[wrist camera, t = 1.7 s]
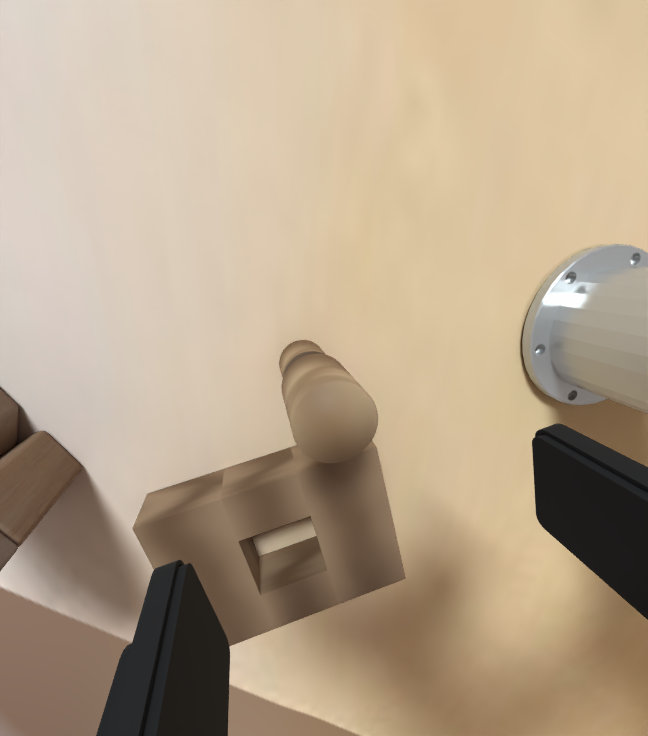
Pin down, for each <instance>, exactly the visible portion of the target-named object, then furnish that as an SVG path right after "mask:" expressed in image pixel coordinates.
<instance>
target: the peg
mask: <svg viewBox="0 0 648 736" xmlns="http://www.w3.org/2000/svg"><path fill="white" fill-rule="evenodd" d="M279 365H280V370H281V373H282V377H283V380H282V395H283V399H284V402H285V406H286V410H287V414H288V417H289V421H290V425H291V429H292V433H293V436H294V439H295V442H296V444H297V446H298V447H299V449H300V450H301V451H302V452H303V453H304V454H305V455H307V456H308V457H309V458H311V459H313V460H316V461H318V462H323V463H339V462H343V461H346V460H349V459H351V458H353V457H355V456H357V455H358V454H360V453H361V452H362V451H363V450H364V449H365V448H366V447H367V446H368V445H369V443H370V442H371V441H372V439H373V437H374V435H375V432H376V429H377V425H378V413H377V408H376V405H375V403H374V401H373V399H372V398H371V397H370V395H369V394H368V393H367V392H366V391H365V390H364V389H363V388H362V387H361V386H360V384H359V383H358V382H357V381H356V380H355V379H354V378H353V377H352V376H351V375H350V373H349V372H348V371H347V370H346V369H345V368H344V367H343V366H342V365H341V364H340V363H339V362H338V361H337V360H336V359H334V358H333V357H331V356H328V355H326V354H325V353H324V352H323V351H322V349H321V348H320V347H319V346H318V345H317V344H315V343H313V342H311V341H307V340H299V341H295V342H293V343H291V344H289V345H288V346H287V347H286V348H285V349H284V350H283V352H282V354H281V357H280V362H279Z"/></svg>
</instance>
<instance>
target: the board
mask: <svg viewBox="0 0 648 736" xmlns="http://www.w3.org/2000/svg"><path fill="white" fill-rule="evenodd" d="M309 516H311V519H312V523H313V526H314V529H315V532H316V535H317V536H316V537H313V538H310V539H307V540H305V541H302V542H299V543H296V544H293V545H291V546H288V547H285V548H282V549H279V550H277V551H274V552H271V553H268V554H265V555H263V556H260V557H259V556H258V553H257V551H256V548H255V546H254V543H253V541H252V538H251V537H252V536H255V535H258V534H261V533H263V532H266V531H269V530H272V529H275V528H278V527H281V526H283V525H286V524H289V523H292V522H295V521H298V520H301V519H303V518H306V517H309ZM133 531H134V533H135V534H136V536H137V538H138V540H139V542H140V544H141V546H142V548H143V550H144V551H145V553H146V555H147V557H148V559H149V561H150V563H151V565H152V567H153V569H155V568H157V567H160V566H163V565H166V564H168V563H171V562H174V561H177V560H182V561H183V563H184V564H188V563H191V564H192V566H193V567H194V570H195V572H196V574H197V576H198V578H199V580H200V582H201V584H202V586H203V588H204V590H205V592H206V595H207V597H208V599H209V601H210V603H211V605H212V607H213V609H214V611H215V613H216V615H217V617H218V620H219V622H220V624H221V626H222V628H223V630H224V632H225V634H226V636H227V639H228V643H229V646H231V645H234V644H236V643H239V642H242V641H244V640H247V639H249V638H252V637H255V636H257V635H260V634H262V633H265V632H268V631H270V630H273V629H275V628H278V627H281V626H283V625H286V624H288V623H291V622H294V621H296V620H299V619H301V618H304V617H307V616H309V615H312V614H314V613H317V612H320V611H322V610H325V609H327V608H330V607H333V606H335V605H338V604H340V603H343V602H346V601H348V600H351V599H353V598H356V597H359V596H361V595H364V594H366V593H369V592H372V591H374V590H377V589H379V588H382V587H385V586H387V585H390V584H392V583H395V582H398V581H400V580H403V579H405V573H404V569H403V564H402V560H401V555H400V551H399V546H398V542H397V537H396V533H395V528H394V524H393V519H392V515H391V510H390V506H389V501H388V497H387V492H386V488H385V483H384V479H383V475H382V470H381V466H380V461H379V457H378V452H377V448H376V446H375V444H374V443H373V441H371V442H370V443H369V445H368V446H367V447H366V448H365V449H364V450H363V451H362V452H361V453H360V454H358V455H357V456H355V457H353V458H351V459H349V460H346V461H343V462H339V463H323V462H318V461H316V460H313V459H311V458H309V457H308V456H307V455H305V454H304V453H303V452H302V451H301V450H300V449H299V447H298V446H297V445H296V446H293V447H290V448H287V449H284V450H281V451H278V452H275V453H272V454H269V455H266V456H263V457H259V458H256V459H253V460H250V461H247V462H244V463H241V464H238V465H235V466H232V467H229V468H226V469H223V470H219V471H216V472H213V473H210V474H207V475H204V476H201V477H198V478H195V479H192V480H189V481H186V482H182V483H179V484H176V485H173V486H170V487H167V488H164V489H161V490H158V491H155V492H152V493H149V494H147V496H146V498H145V501H144V503H143V505H142V508H141V510H140V512H139V515H138V517H137V519H136V522H135V524H134V526H133Z"/></svg>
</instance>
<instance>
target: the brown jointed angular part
mask: <svg viewBox="0 0 648 736" xmlns="http://www.w3.org/2000/svg"><path fill="white" fill-rule="evenodd" d="M18 410H19V409H18V406H17V404H16V403H15V402H14V401H13V400H12V399H10V398H9V397H8V396H7V395H6V394H5V393H4V392H3V391H2V390H1V389H0V571H1V570H2V568H3V567H4V566H5V565H6V563H7V562H8V561H9V560H10V558H11V557H12V556H13V555H14V553H15V552H16V551H17V549H18V547H19V546H20V545H21V544H22V543H23V542H24V540H25V539H26V538H27V537H28V535H29V534H30V533H31V532H32V530H33V529H34V528H35V527H36V525H37V524H38V523H39V522H40V520H41V519H42V518H43V517H44V515H45V514H46V513H47V512H48V510H49V509H50V508H51V507H52V505H53V504H54V503H55V502H56V500H57V499H58V498H59V497H60V495H61V494H62V493H63V492H64V490H65V489H66V488H67V487H68V485H69V484H70V483H71V482H72V480H73V479H74V478H75V477H76V475H77V474H78V473H79V472H80V470H81V465H80V464H79V463H78V462H77V461H76V460H75V459H74V458H73V457H72V456H71V455H70V454H69V453H68V452H67V451H66V450H65V449H64V448H63V447H62V446H61V445H60V444H58V443H57V442H56V441H55V440H54V439H53V438H52V437H51V436H50V435H49V434H48V433H47V432H45V431H40V432H36V433H34V434H33V435H31V436H30V437H28V438H27V439H25V440H23V441H22V442H20V443H19V444H17V445H16V443H17V431H18ZM15 445H16V446H15Z"/></svg>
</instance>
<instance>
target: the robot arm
mask: <svg viewBox="0 0 648 736" xmlns="http://www.w3.org/2000/svg"><path fill="white" fill-rule="evenodd" d="M522 347H523V358H524V363H525V367H526V370H527V372H528V374H529V376H530V379H531V380H532V381H533V383H534V384H535V385H536V387H537V388H538V389H539V390H541V391H542V392H543V393H544V394H546V395H547V396H549V397H551V398H553V399H555V400H558V401H560V402H563V403H566V404H569V405H589V404H595V403H598V402H601V401H603V400H606V399H609V400H612V401H615V402H617V403H620V404H622V405H625V406H628V407H630V408H633V409H636V410H638V411H641V412H643V413H646V414H648V253H647V252H645V251H644V250H643V249H640V248H637V247H634V246H631V245H621V244H613V245H600V246H596V247H593V248H589V249H586V250H584V251H582V252H580V253H578V254H576V255H574V256H572V257H571V258H569V259H568V260H567V261H565V262H564V263H563V264H561V265H560V266H559V267H558V268H557V269H556V270H555V271H554V272H553V273H552V274H551V275H550V276H549V277H548V278H547V280H546V281H545V283H544V284H543V285H542V287H541V288H540V290H539V291H538V293H537V295H536V297H535V299H534V301H533V303H532V305H531V307H530V309H529V312H528V315H527V318H526V321H525V325H524V332H523V338H522ZM532 448H533V466H534V484H535V503H536V516H537V519H538V521H539V523H540V524H541V525H542V527H543V528H544V529H545V530H546V531H548V532H549V533H550V534H551V535H552V536H553V537H554V538H555V539H557V540H558V541H559V542H560V543H561V544H562V545H563V546H565V547H566V548H567V549H568V550H569V551H570V552H571V553H573V554H574V555H575V556H576V557H577V558H578V559H579V560H580V561H582V562H583V563H584V564H585V565H586V566H587V567H588V568H590V569H591V570H592V571H593V572H594V573H595V574H596V575H598V576H599V577H600V578H601V579H602V580H603V581H604V582H605V583H607V584H608V585H609V586H610V587H611V588H612V589H613V590H615V591H616V592H617V593H618V594H619V595H620V596H621V597H622V598H624V599H625V600H626V601H627V602H628V603H629V604H630V605H632V606H633V607H634V608H635V609H636V610H637V611H638V612H640V613H641V614H642V615H643V616H644V617H645V618H646V619H647V620H648V467H646V466H644V465H642V464H640V463H638V462H636V461H634V460H632V459H630V458H628V457H626V456H624V455H622V454H620V453H618V452H616V451H614V450H612V449H610V448H608V447H606V446H604V445H602V444H600V443H598V442H596V441H594V440H592V439H590V438H588V437H586V436H584V435H582V434H580V433H578V432H576V431H574V430H573V429H571V428H569V427H567V426H565V425H562V424H554V425H552V426H549V427H546V428H543V429H540V430H538V431H537V432H536V434H535V438H533V440H532ZM229 670H230V649H229V643H228V639H227V636H226V634H225V632H224V630H223V628H222V626H221V624H220V622H219V620H218V617H217V615H216V613H215V611H214V609H213V607H212V605H211V603H210V601H209V599H208V597H207V595H206V592H205V590H204V588H203V586H202V584H201V582H200V580H199V578H198V576H197V574H196V572H195V570H194V567H193V566H192V564H191V563H188V564H184V563H183V561H182V560H177V561H174V562H171V563H168V564H166V565H163V566H160V567H157V568H155V569H154V571H153V573H152V576H151V580H150V583H149V587H148V590H147V594H146V597H145V601H144V604H143V608H142V611H141V615H140V618H139V622H138V625H137V629H136V632H135V635H134V639H133V642H132V644H129V645H128V646H127V647H126V648H125V649H124V651H123V653H122V655H121V658H120V660H119V663H118V666H117V670H116V673H115V676H114V679H113V683H112V686H111V689H110V693H109V696H108V699H107V702H106V706H105V709H104V712H103V715H102V719H101V722H100V725H99V728H98V732H97V735H96V736H228V703H229Z"/></svg>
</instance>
